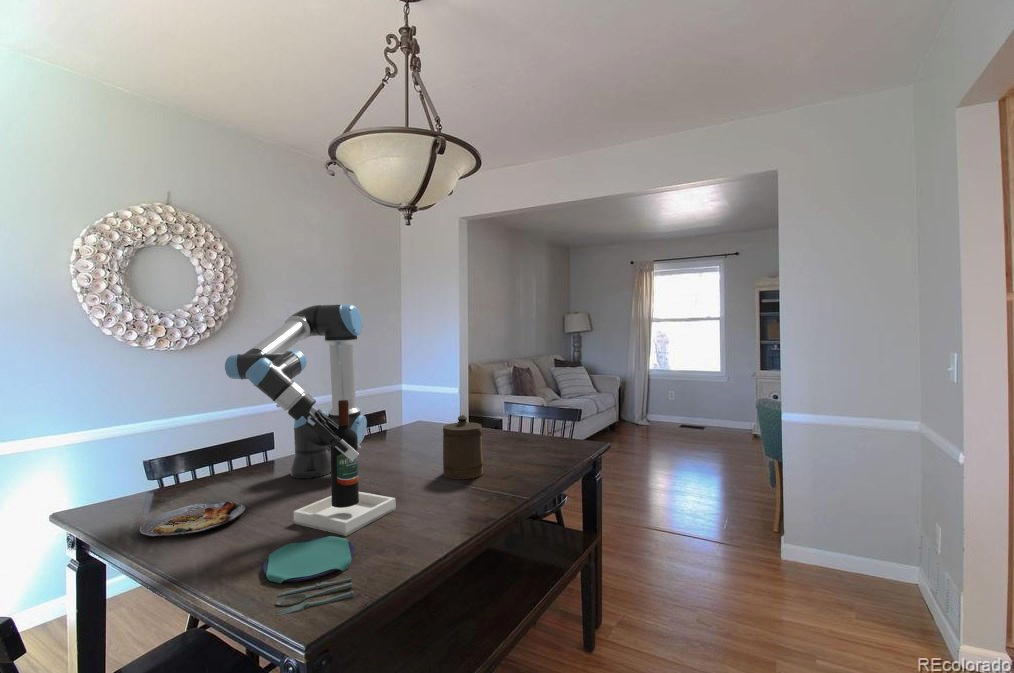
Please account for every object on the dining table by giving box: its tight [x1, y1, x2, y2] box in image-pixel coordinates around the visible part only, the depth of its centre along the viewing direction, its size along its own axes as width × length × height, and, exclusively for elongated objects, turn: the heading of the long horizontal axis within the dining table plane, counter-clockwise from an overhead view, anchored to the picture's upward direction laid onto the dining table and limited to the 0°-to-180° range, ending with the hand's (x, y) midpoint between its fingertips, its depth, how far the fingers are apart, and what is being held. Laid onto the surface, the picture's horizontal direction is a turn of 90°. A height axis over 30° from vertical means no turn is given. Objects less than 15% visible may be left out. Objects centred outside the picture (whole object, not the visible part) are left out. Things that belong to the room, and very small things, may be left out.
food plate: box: [139, 500, 247, 537], centre depth 136 cm, size 25×23×4 cm
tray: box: [292, 491, 397, 537], centre depth 138 cm, size 20×20×4 cm
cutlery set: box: [262, 535, 356, 617], centre depth 106 cm, size 20×30×2 cm, turn 23°
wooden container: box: [442, 414, 484, 480], centre depth 177 cm, size 15×15×22 cm
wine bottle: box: [330, 400, 360, 508], centre depth 138 cm, size 8×8×30 cm
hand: (356, 454), depth 138 cm, fingers closed on wine bottle, 7 cm apart
